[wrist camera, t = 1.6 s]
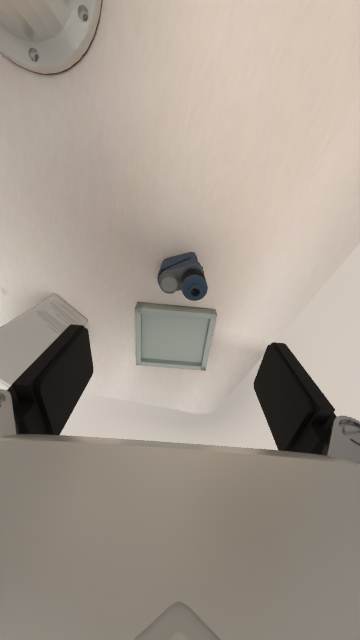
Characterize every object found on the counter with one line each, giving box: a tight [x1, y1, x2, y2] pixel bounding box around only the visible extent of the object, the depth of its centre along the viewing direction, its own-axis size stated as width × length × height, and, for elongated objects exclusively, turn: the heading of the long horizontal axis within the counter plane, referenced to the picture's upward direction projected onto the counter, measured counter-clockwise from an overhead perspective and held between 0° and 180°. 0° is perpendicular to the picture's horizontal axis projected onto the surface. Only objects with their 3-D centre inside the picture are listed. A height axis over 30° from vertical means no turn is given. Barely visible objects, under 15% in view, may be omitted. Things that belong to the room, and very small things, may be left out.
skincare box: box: [0, 294, 87, 390], centre depth 26 cm, size 8×7×16 cm
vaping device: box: [157, 252, 208, 301], centre depth 23 cm, size 3×5×12 cm, turn 103°
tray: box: [135, 302, 217, 371], centre depth 33 cm, size 11×12×2 cm
